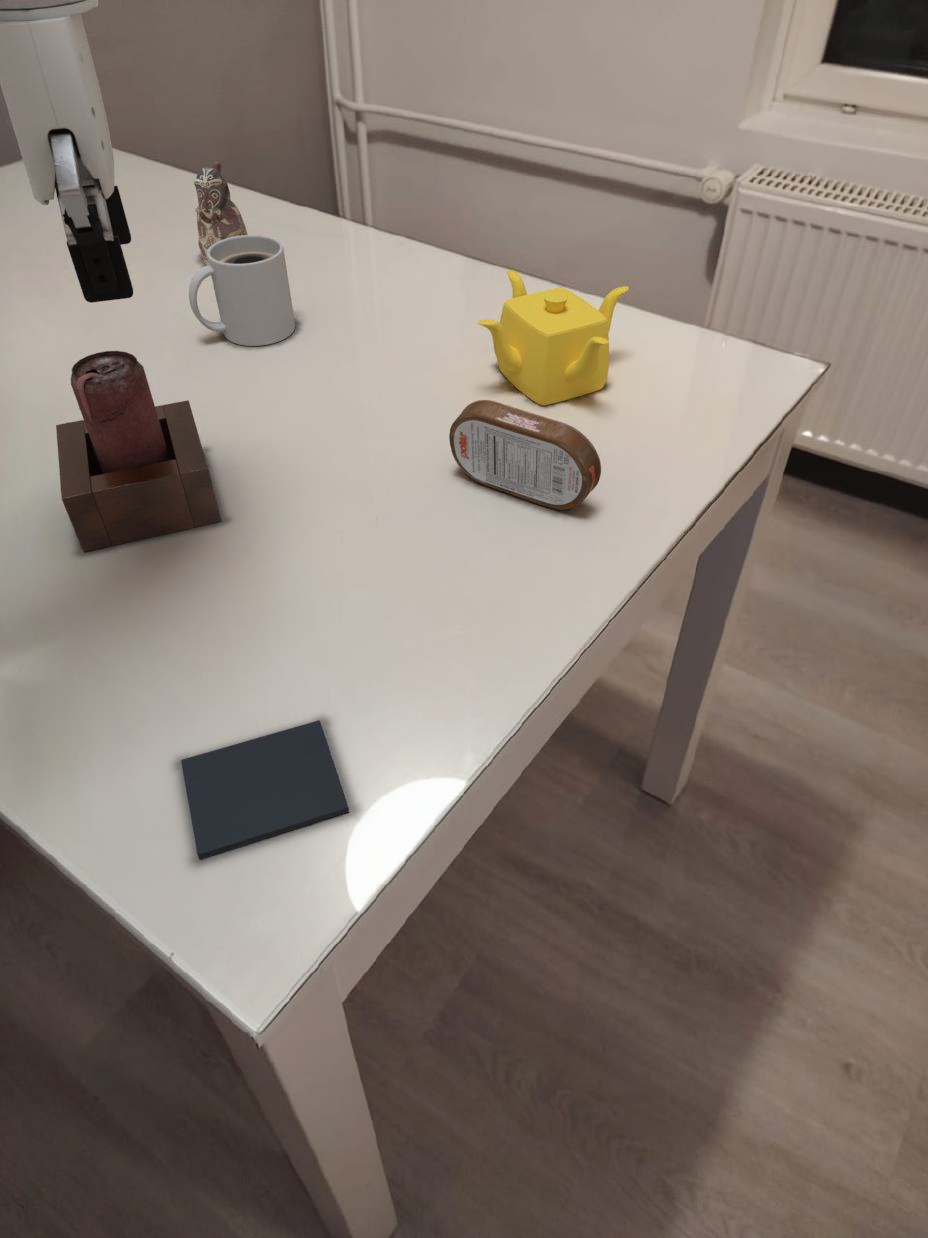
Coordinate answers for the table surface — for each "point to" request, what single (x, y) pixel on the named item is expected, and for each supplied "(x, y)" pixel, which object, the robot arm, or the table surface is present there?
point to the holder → (136, 485)
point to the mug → (248, 290)
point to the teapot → (553, 342)
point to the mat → (261, 788)
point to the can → (118, 411)
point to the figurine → (215, 210)
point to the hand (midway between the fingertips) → (110, 269)
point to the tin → (524, 454)
